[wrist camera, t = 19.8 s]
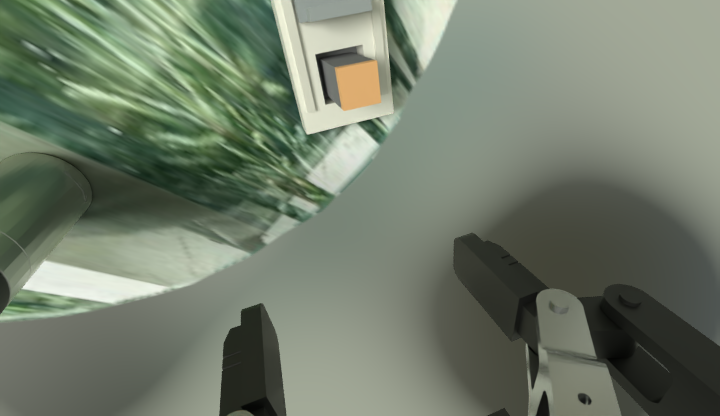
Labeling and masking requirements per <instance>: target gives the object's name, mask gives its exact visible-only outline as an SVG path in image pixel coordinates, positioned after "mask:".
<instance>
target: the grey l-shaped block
mask: <svg viewBox="0 0 720 416" xmlns="http://www.w3.org/2000/svg"><path fill="white" fill-rule="evenodd" d="M294 4H295V9H296V13H297V18H298V22H299V23H303V22H313V21H319V20H324V19H329V18H335V17H340V16H345V15H351V14H356V13H361V12H367V11H372V4H371V0H294Z"/></svg>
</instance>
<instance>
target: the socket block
mask: <svg viewBox="0 0 720 416" xmlns="http://www.w3.org/2000/svg"><path fill="white" fill-rule="evenodd" d="M271 3H272V7H273V11H274V15H275V19H276V23H277V27H278V31H279V35H280V39H281V43H282V47H283V51H284V55H285V59H286V62H287V66H288V70H289V74H290V78H291V82H292V86H293V90H294V94H295V98H296V102H297V106H298V110H299V114H300V118H301V121H302V125H303V128H304V130H305V132H306V133H307V135H308V134H312V133H316V132H320V131H324V130H328V129H332V128H336V127H340V126H344V125H348V124H352V123H356V122H360V121H364V120H368V119H372V118H376V117H380V116H384V115H388V114H392V113H394V108H393V97H392V86H391V75H390V64H389V53H388V42H387V31H386V20H385V9H384V0H371V4H372V11H367V12H361V13H356V14H351V15H345V16H340V17H335V18H329V19H324V20H319V21H313V22H303V23H299V22H298V18H297V13H296V9H295V4H294V0H271ZM347 52H353V53H356V54H359V55H362V56H365V57H368V58H371V59H374V60H377V64H378V74H379V85H380V95H381V103H378V104H374V105H369V106H365V107H360V108H356V109H352V110H347V111H343V110H342V109H341V108H340V107H339V106H338V105H337V104H336V103H335V102H334V101H333V100H332V99H331V98H330V97H329V96H328V95H327V94H326V93H325V91H324V86H323V80H322V75H321V70H320V65H319V59H318V58H321V57H326V56H331V55H337V54H342V53H347Z"/></svg>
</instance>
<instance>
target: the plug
mask: <svg viewBox="0 0 720 416" xmlns="http://www.w3.org/2000/svg"><path fill="white" fill-rule="evenodd" d="M318 59H319V65H320V70H321V75H322V80H323V86H324V91H325V93H326V94H327V95H328V96H329V97H330V98H331V99H332V100H333V101H334V102H335V103H336V104H337V105H338V106H339V107H340V108H341V109H342V110H343V111H347V110H352V109H356V108H360V107H365V106H369V105H374V104H378V103H381V95H380V85H379V74H378V64H377V60H374V59H371V58H368V57H365V56H362V55H359V54H356V53H353V52H347V53H342V54H337V55H331V56H326V57H321V58H318Z"/></svg>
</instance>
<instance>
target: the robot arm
mask: <svg viewBox="0 0 720 416" xmlns="http://www.w3.org/2000/svg"><path fill="white" fill-rule="evenodd" d="M91 201H92V190H91V187H90V184H89V183H88V181H87V179H86V178H85V177H84V175H83V174H82V173H81V172H80V171H79V170H77V169H76V168H75V167H74V166H72V165H70V164H69V163H67V162H65V161H63V160H61V159H59V158H56V157H53V156H49V155H45V154H39V153H21V154H17V155H12V156H10V157H8V158H6V159H4V160H2V161H1V162H0V314H1V313H2V311H3V310H4V309H5V308H6V306H7V305H8V304H9V303H10V302H11V301H12V299H13V298H14V297H15V296H16V294H17V293H18V292H19V291H20V290H21V288H22V287H23V286H24V285H25V284H26V282H27V281H28V280H29V279H30V277H31V276H32V275H33V274H34V273H35V271H36V270H37V269H38V268H39V267H40V265H41V264H42V263H43V262H44V261H45V259H46V258H47V257H48V256H49V255H50V253H51V252H52V251H53V250H54V248H55V247H56V246H57V245H58V244H59V242H60V241H61V240H62V239H63V238H64V236H65V235H66V234H67V233H68V232H69V230H70V229H71V228H72V227H73V226H74V225H75V223H76V222H77V221H78V220H79V219H80V217H81V216H82V215H83V214H84V212H85V211H86V210H87V209H88V207H89V206H90V204H91ZM454 270H455V273H456V275H457V277H458V278H459V280H460V281H461V282H462V283H463V285H464V286H465V287H466V288H467V289H468V291H469V292H470V293H471V294H472V295H473V296H474V298H475V299H476V300H477V301H478V302H479V303H480V305H481V306H482V307H483V308H484V309H485V311H486V312H487V313H488V314H489V315H490V317H491V318H492V319H493V320H494V321H495V323H496V324H497V325H498V326H499V327H500V328H501V330H502V331H503V332H504V333H505V335H506V336H507V337H508V338H509V339H510V340H511V341H514V340H517V339H519V338H522V339H523V340H524V341H525V342H526V360H527V373H528V386H529V408H528V416H621V413H620V410H619V406H618V402H617V398H616V395H615V391H614V388H613V384H612V381H611V377H610V375H611V376H612V377H613V378H614V379H615V380H616V381H617V382H618V384H619V385H620V386H622V388H623V389H624V390H625V391H626V392H627V393H628V394H629V395H630V396H631V397H632V398H633V399H634V400H635V401H636V402H637V403H638V404H639V405H640V406H641V407H642V408H643V409H644V410H645V412H646V413H648V415H649V416H720V346H718V345H717V344H716V343H714V342H713V341H712V340H710V339H709V338H707V337H706V336H705V335H703V334H702V333H701V332H699V331H698V330H696V329H695V328H694V327H692V326H691V325H689V324H688V323H687V322H685V321H684V320H682V319H681V318H680V317H678V316H677V315H676V314H674V313H673V312H672V311H670V310H669V309H667V308H666V307H664V306H663V305H662V304H660V303H659V302H658V301H656V300H655V299H654V298H652V297H651V296H649V295H648V294H647V293H645V292H644V291H642V290H640V289H638V288H635V287H632V286H628V285H622V284H614V285H610V286H608V287H607V288H606V289H605V291H604V293H603V296H597V297H582V298H576V297H575V296H573V295H572V294H570V293H568V292H565V291H563V290H558V289H550V288H548V287H547V286H546V285H545V284H544V283H542V282H541V281H540V280H539V279H538V278H537V277H535V276H534V275H533V274H532V273H531V272H530V271H529V270H527V269H526V268H525V267H524V266H523V265H522V264H521V263H518V261H517V260H516V259H515V258H513V257H512V256H510V254H509V253H508V252H507V251H506V250H504V249H503V248H502V247H501V246H499V245H497V244H495V243H492V242H490V241H485V242H483V241H482V240H481V239H480V238H479V237H478V236H477V235H475V234H474V233H470V234H467V235H464V236H461V237H458V238H455V240H454ZM639 344H640V345H641V346H642V347H643V348H644V349H645V350H647V351H648V352H649V353H650V354H651V355H652V356H653V357H655V358H656V359H657V360H658V361H659V362H660V363H661V364H663V365H664V366H665V367H666V368H667V369H668V371H669V372H670V373H669V372H668V371H667V370H666V369H664V368H663V367H662V366H661V365H660V364H659V363H658V362H656V361H655V360H654V359H653V358H652V357H651V356H650V355H648V354H647V353H646V352H645V351H644V350H643V349H642V348H641V347H639V346H638V345H639ZM222 365H223V366H222V369H223V371H222V382H221V398H220V414H219V416H286V408H285V398H284V390H283V381H282V372H281V363H280V353H279V344H278V339H277V335H276V332H275V329H274V327H273V324H272V322H271V320H270V318H269V316H268V313H267V311H266V309H265V307H264V305H263V304H262V303H260V304H257V305H254V306H251V307H249V308H245V309H242V311H241V325H240V326H237V327H235V328H232V329H230V331H229V333H228V335H227V337H226V339H225V342H224V349H223V364H222ZM488 416H509V414H508V413H507V411H506V410H505V408H503V409H501V410H499V411H497V412H495V413H492V414H490V415H488Z"/></svg>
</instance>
